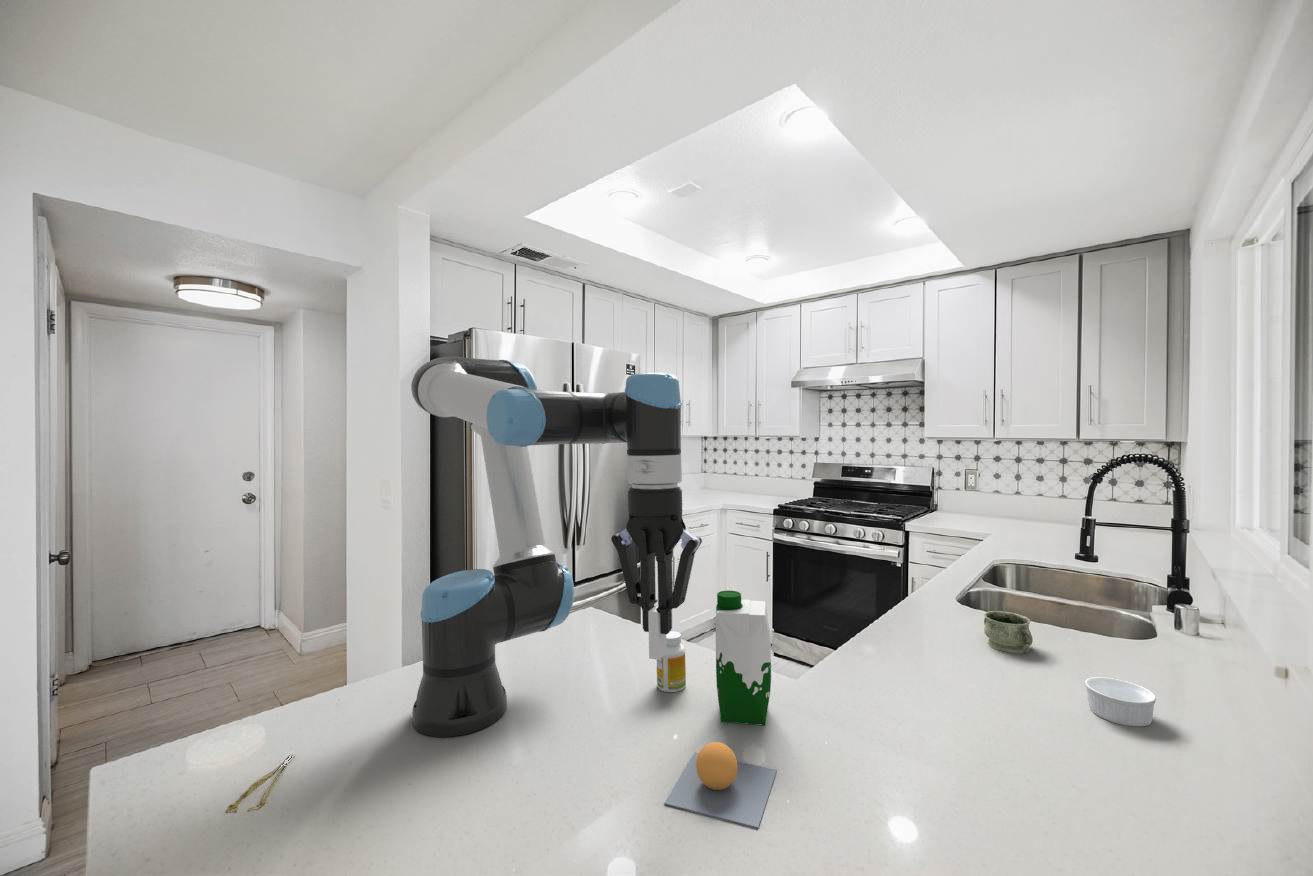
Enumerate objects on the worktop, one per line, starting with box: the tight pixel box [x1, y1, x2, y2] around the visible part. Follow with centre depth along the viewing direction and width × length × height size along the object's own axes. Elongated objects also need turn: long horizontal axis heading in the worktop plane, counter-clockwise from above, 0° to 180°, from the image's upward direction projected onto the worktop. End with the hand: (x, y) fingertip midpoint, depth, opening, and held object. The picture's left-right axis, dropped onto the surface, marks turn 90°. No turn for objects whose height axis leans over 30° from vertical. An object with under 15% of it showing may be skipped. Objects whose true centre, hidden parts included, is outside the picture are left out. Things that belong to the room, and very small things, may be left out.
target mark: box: [664, 751, 778, 830], centre depth 73 cm, size 12×12×1 cm
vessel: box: [983, 610, 1033, 654], centre depth 119 cm, size 12×9×6 cm
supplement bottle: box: [656, 630, 687, 693], centre depth 103 cm, size 5×5×10 cm
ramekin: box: [1084, 676, 1157, 728], centre depth 90 cm, size 9×9×4 cm
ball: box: [696, 741, 738, 790], centre depth 73 cm, size 6×6×6 cm
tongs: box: [226, 754, 294, 814], centre depth 76 cm, size 4×13×2 cm, turn 12°
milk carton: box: [715, 590, 772, 726], centre depth 92 cm, size 9×9×20 cm
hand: (657, 655), depth 77 cm, fingers closed
